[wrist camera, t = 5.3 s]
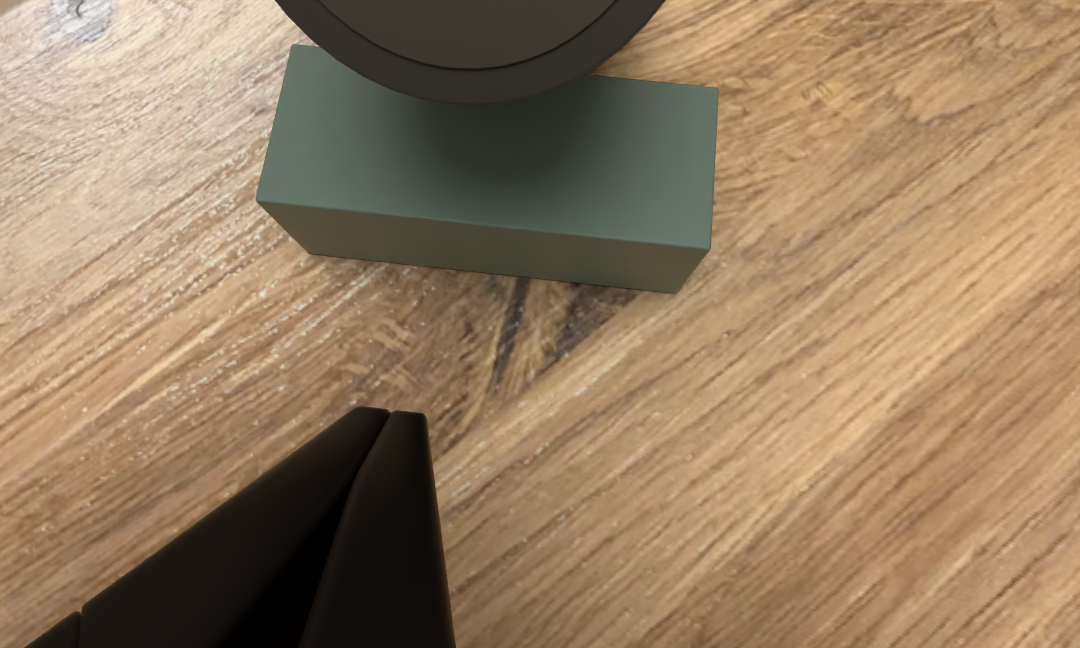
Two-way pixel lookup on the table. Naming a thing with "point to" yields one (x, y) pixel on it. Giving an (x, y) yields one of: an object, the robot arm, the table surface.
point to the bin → (471, 42)
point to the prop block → (496, 177)
